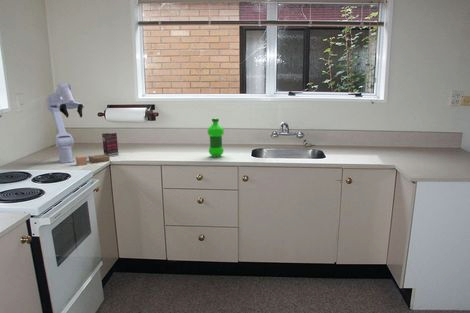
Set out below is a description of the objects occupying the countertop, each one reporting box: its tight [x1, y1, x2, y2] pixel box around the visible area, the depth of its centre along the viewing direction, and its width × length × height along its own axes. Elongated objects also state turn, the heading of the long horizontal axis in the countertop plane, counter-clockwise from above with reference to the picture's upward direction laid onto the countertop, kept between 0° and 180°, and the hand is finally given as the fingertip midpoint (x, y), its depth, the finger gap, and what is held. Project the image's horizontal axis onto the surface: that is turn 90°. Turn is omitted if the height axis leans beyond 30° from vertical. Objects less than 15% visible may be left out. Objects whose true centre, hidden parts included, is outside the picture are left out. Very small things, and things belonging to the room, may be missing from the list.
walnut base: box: [88, 153, 110, 164], centre depth 249 cm, size 10×10×3 cm
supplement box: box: [101, 131, 119, 157], centre depth 264 cm, size 9×5×16 cm, turn 134°
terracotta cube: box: [75, 155, 88, 167], centre depth 238 cm, size 5×5×5 cm
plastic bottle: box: [207, 117, 225, 158], centre depth 255 cm, size 10×10×25 cm
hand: (74, 116), depth 221 cm, fingers open, 7 cm apart
